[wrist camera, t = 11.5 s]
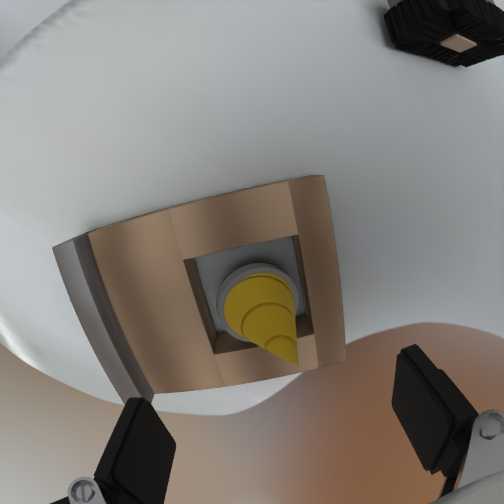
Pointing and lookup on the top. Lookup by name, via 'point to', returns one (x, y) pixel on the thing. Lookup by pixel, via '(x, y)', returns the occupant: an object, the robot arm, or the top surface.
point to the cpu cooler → (447, 29)
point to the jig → (200, 289)
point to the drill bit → (261, 308)
